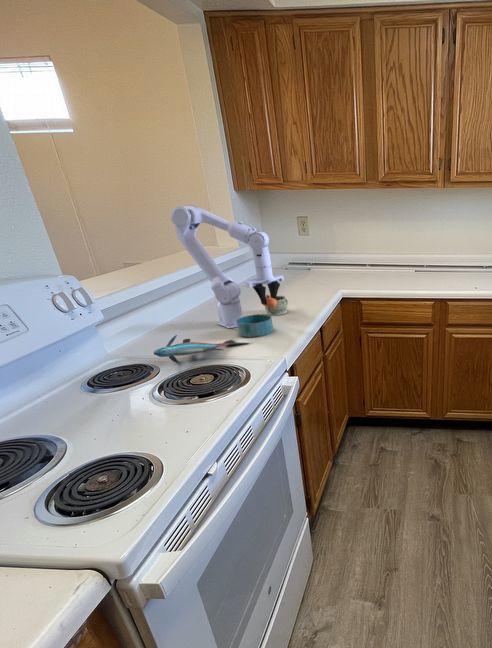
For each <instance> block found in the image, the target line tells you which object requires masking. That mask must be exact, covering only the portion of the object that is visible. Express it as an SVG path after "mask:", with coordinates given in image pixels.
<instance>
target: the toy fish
mask: <svg viewBox="0 0 492 648" xmlns="http://www.w3.org/2000/svg"><path fill="white" fill-rule="evenodd" d="M266 301H267V304H266V305H264V304H262V302H261V301H260V303H261V305H263V307H265V306H267V307H271V308H274V307H276V305H277V301H276V300H275V299H274V298H271V296H270V294H266Z"/></svg>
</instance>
